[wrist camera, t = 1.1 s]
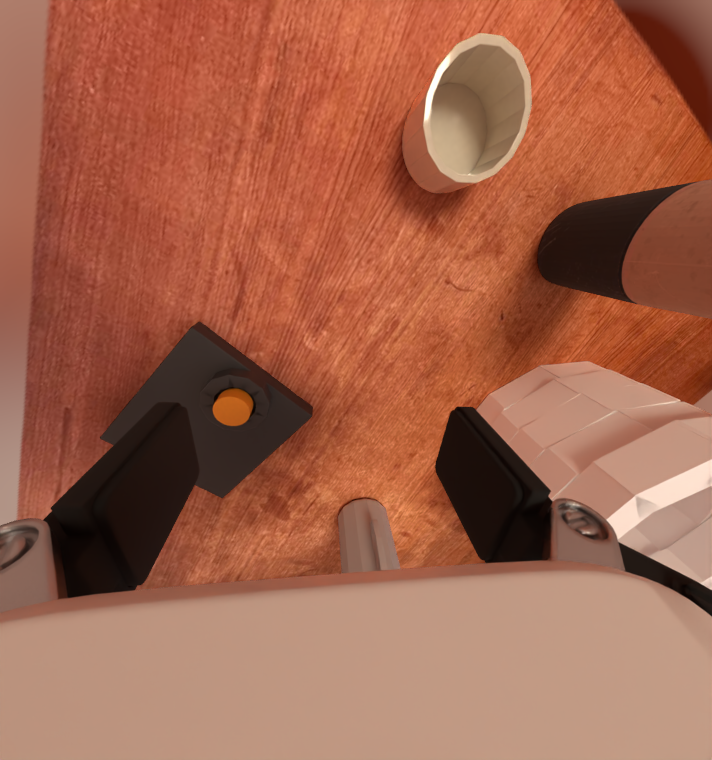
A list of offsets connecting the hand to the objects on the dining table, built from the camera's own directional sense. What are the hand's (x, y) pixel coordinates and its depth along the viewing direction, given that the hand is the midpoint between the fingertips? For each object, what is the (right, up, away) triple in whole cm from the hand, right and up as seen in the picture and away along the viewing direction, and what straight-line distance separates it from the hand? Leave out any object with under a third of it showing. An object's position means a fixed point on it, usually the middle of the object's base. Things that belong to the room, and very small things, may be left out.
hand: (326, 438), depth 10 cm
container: (+26, -6, +28) cm, 39 cm away
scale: (-14, -2, +20) cm, 25 cm away
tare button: (-10, 0, +16) cm, 19 cm away
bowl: (+8, +21, +11) cm, 25 cm away
